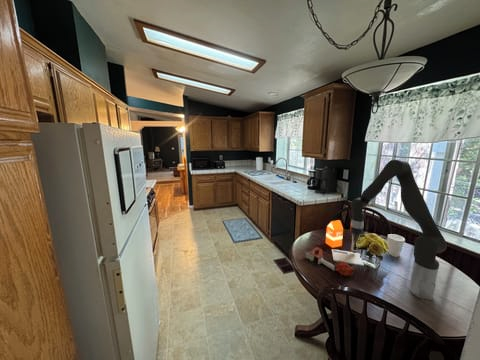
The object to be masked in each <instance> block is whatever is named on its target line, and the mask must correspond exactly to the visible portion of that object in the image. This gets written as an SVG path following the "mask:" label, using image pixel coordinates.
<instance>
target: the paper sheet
mask: <svg viewBox="0 0 480 360" xmlns="http://www.w3.org/2000/svg"><path fill="white" fill-rule="evenodd" d="M331 254H332V259H333V260H332V261H333V262H339V261H341V262H345V263H346V264H351V265H356V266H361V267H364V266H365V264H364V261H363V262H361V261H359V258H360V256H361V254H360V252H357V253H353V252H351V251H347V250H339V249H335V248H331Z"/></svg>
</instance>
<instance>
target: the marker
mask: <svg viewBox="0 0 480 360" xmlns="http://www.w3.org/2000/svg"><path fill="white" fill-rule="evenodd" d="M351 240H352V241H351V249H350V252H353V253H358V249H357V250H353V244H354V242H353V236H352V235H351ZM354 241H355V240H354Z"/></svg>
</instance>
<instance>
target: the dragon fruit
mask: <svg viewBox="0 0 480 360" xmlns="http://www.w3.org/2000/svg"><path fill="white" fill-rule="evenodd" d="M333 265H334V267H336V268H334V269H335V271H336V272H338V273H339V274H340V276H341V277H342V276H345V277H350V276H351V275H353V274H355V273H356V270H355V268H354V267H352V266H351V265H350V264H349V263H345V262H341V261H339V262H337V261H335V262H334V264H333Z"/></svg>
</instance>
